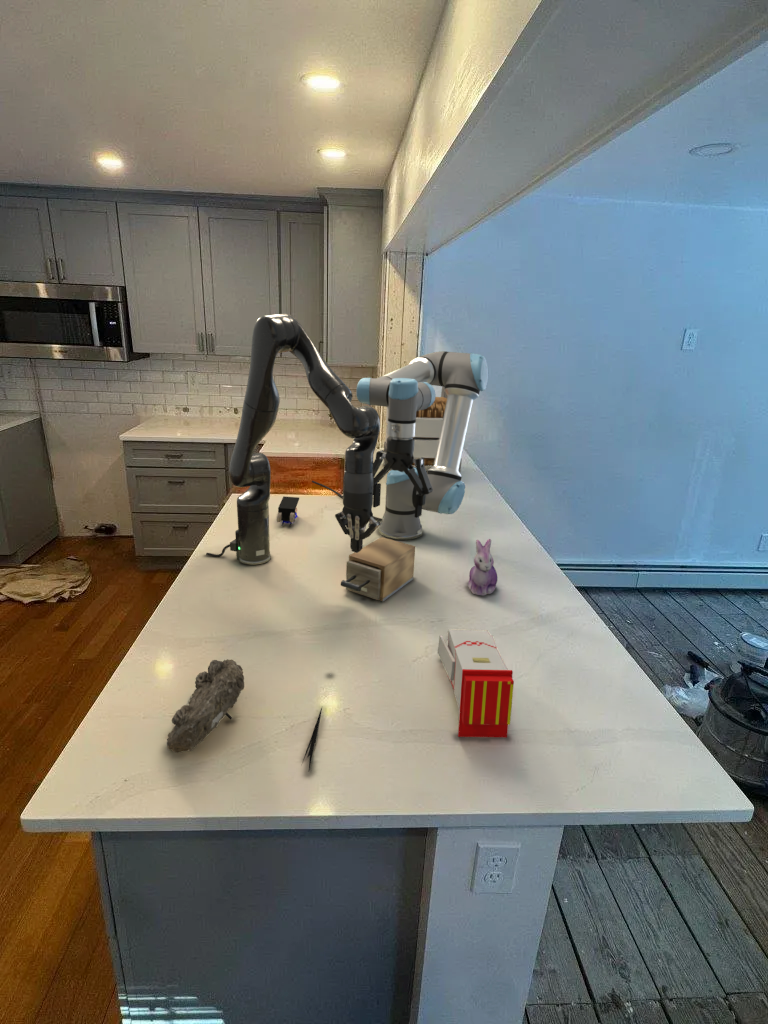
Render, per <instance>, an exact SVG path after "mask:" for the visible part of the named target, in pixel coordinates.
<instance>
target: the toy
mask: <svg viewBox="0 0 768 1024" xmlns="http://www.w3.org/2000/svg"><path fill="white" fill-rule="evenodd" d="M446 640H447V643H446V641H445V639H444V636H443V635H442V634H439V637H438V646H437V656H438V657H439V659H440V661H441V663H442V666H443V668H444V670H445V672H446V674H447V677H448V679H449V681H450V684H451V687H452V690H453V693H454V697H455V701H456V705H457V708H458V711H459V714H458V715H459V716H458V730H457V731H458V732H457V737H458V738H508V731H509V726H510V725H511V717H512V707H513V697H514V696H513V695H514V684H515V680H514V679H513V673H514V671H513V670H512V669H508V667H507V665H506V662H505V661H504V659H503V658H502V655H501V653H500V651H499V649H498V647H497V643H496V639H495V637H494V635H493V634H491V632H490V631H489V629H467V628H466V629H465V628H463V629H461V628H460V629H459V628H448V630H447V639H446Z"/></svg>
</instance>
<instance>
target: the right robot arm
mask: <svg viewBox="0 0 768 1024" xmlns="http://www.w3.org/2000/svg"><path fill="white" fill-rule="evenodd" d="M488 381H489V366H488V361H487V358H486V357H485V356H484V355H483V354H479V353H473V352H459V351H458V352H457V351H445V350H442V351H440V350H439V351H434V352H429V353H426V354H422V355H420V356H417V357H415V358H413V359H412V360H411V361H410V362H409V363H408V364H406V365H404V366H402V367H399V368H398V369H395V370H393V371H391V372H388V373H386V374H384V375H381V376H379V377H377V378H376V377H375V378H374V377H373V378H372V377H362V378H361V379H360V380H359V381H358V382H357V384H356V391H355V392H356V394H355V395H356V398H357V401H358V402H359V403H360V404H362V405H363V404H364V405H368V406H376V407H385V408H387V407H389V409H388V429H387V435H388V436H389V437H388V438H387V448H386V449H387V453H386V452H384V449H381V450H378V451H376V452H375V453H376V454H375V459H374V460H373V479H374V482H373V505H372V508H377V507H379V506H381V493H382V491H381V490H382V487H381V486H382V485H381V484H382V483H380V482H381V480H382V479H383V478H384V477H385V476H386V480H385V481H386V482H385V504H384V505H385V507H384V508H385V509H384V513H383V515H382V517H381V518H380V517H378V516H375V515H373V518H374V519H375V521H379V522H380V525H379V526H378V533H379V534H380V535H381V536H382V537H384V538H387V539H391V540H395V541H410V540H415V539H418V538H420V537H421V536H422V535H423V525H422V524H421V518H420V517H421V516H422V514H423V511H427V512H434V513H437V514H439V515H442V514H444V515H453V514H455V513H456V512H457V511H458V510H459V508H460V507H461V505H462V502H463V500H464V497H465V492H466V484H465V482H464V481H462V478H463V476H462V474H460V473H459V465H460V461H461V458H462V455H463V449H464V446H465V442H466V437H467V436H466V435H467V432H468V427H469V422H470V417H471V412H472V406H473V403H474V401H475V400H476V399H478V398H479V396H480V392H483V391H485V390H486V389H487V386H488ZM434 386H436V387H441V388H442V387H445V390H444V391H445V393H446V394H447V396H448V397H447V402H446V407H445V412H444V417H443V422H442V426H441V431H440V436H439V441H438V446H437V450H436V455H435V460H434V465H433V466H432V465H431V466H430V468H428V469H426V466H424V458H422V457H421V458H414V456H413V452H414V442H415V440H414V438H413V437H414V436H415V424H416V411H420V410H424V409H427V408H428V407H430V406H431V405H432V404H433V403H434V401H435V397H437V396H436V390H435V388H434ZM385 458H386V460H387V462H388V463H387V464H386V465H385V466H384V465H383V468H382V469H381V470H379V469H380V467H381V465H382V463H383V462H384V459H385ZM413 463H414V465H415V466H412V464H413ZM390 469H392V470H391V471H390ZM378 470H379V472H378ZM377 472H378V473H377ZM311 483H312V484H315V485H317V486H320V487H322V488H325V489H327V490H329V491H331V492H332V493H334V494H335V495H336V496H337V495H338V497H340V498H341V499H343V494H340V493H339V492H338V491H336V490H335V489H333V488H330V487H329V486H327V485H324V484H322V483H320V482H317V481H315V480H311Z"/></svg>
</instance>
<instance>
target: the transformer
mask: <svg viewBox="0 0 768 1024" xmlns="http://www.w3.org/2000/svg"><path fill="white" fill-rule="evenodd" d="M444 390H445V387H442V386H441V392H440V393H441V394H440V396H436V397H435V401H434V403H433V404H432V405H431V406H430V407H428V408H427V409H424V410H420V411H416V424H415V436H414V437H413V438H414V440H415V442H414V452H413V456H414V458H421V457H422V458H424V467H432V466H433V465H434V460H435V455H436V450H437V446H438V441H439V436H440V431H441V426H442V422H443V417H444V412H445V407H446V402H447V397H448V396H447V394H446V393H445V391H444ZM388 409H389V407H386V413H385V414H386V415H385V423H386V428H385V438H384V442H383V450H384V452H386V453H387V449H386V448H387V438H388V437H389V436H388V435H387V429H388ZM462 461H463V460H462V457H461V461H460V465H459V473H460V474H461V472H462ZM382 463H383V467H384V466H385V465H386V464H387V463H388V462H387V460H386V458H385V459H383V462H382ZM412 466H413V467H416V466H415V465H414V463H413V464H412ZM391 470H392V469H390V470H389V472H390V471H391ZM461 475H462V474H461Z"/></svg>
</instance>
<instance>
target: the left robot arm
mask: <svg viewBox="0 0 768 1024" xmlns="http://www.w3.org/2000/svg"><path fill="white" fill-rule="evenodd" d="M251 337H252V338H251V349H250V350H251V351H250V352H251V353H250V363H249V371H248V378H247V385H246V390H245V394H244V398H243V405H242V408H241V416H240V422H239V428H238V431H237V437H236V440H235V444H234V447H233V450H232V453H231V456H230V460H229V466H228V475H229V478H230V482H231V483H232V485H233V486H234V487H237V488H247V487H248V489H246V490H245V491H244V492H243V493H242V494H240V495H238V497H237V499H236V514H237V515H236V516H237V530H235V532H234V534H235V538H234V539H233V540H232V541H230V542H229V544H226V545H225V546H224V547H223V548H222V550H221V553H219V554H218V553H217V554H216V553H211V552H206V553H205V556H209V557H213V558H219V557H222V556H224V554H225V551H226V550H227V549H228V548H229V550H230V552H235V553H236V554H235V555H236V561H239V562H240V563H242V564H245V565H249V566H256V565H257V566H258V565H262V564H266V563H268V562H269V561H270V560H271V548H270V547H271V542H270V541H271V540H270V512H269V511H270V508H269V507H270V506H269V501H270V497H271V479H272V477H271V475H272V473H271V471H272V470H271V464H270V461H269V458H268V457H267V455H266V454H264V453H263V452H255V450H256V448H257V446H258V445H259V444H260V443H261V442H262V440H264V438H265V437H266V436H267V435H268V433H269V432H270V431H271V429H272V428H273V427H274V425H275V423H276V420H277V416H278V411H279V407H280V402H281V401H280V393H279V390H278V387H277V385H276V382H275V379H274V366H275V363H276V362H275V361H276V358H277V355H278V354H281V353H287V352H290V354H292V355H293V356H294V357H296V359H298V360H299V362H300V363H301V364H302V367H303V369H304V371H305V375H306V380H307V382H308V385H309V388H310V389H311V391H312V392H313V393H314V395H315V396H316V397H317V398H318V399H319V401H320V402H321V403H322V404H323V405H324V406H325V407H326V409H328V411H329V413H330V415H331V417H332V419H333V421H334V423H335V425H336V427H337V429H338V430H339V431H340V433H342V434H343V435H344V436H346V437H347V438H349V439H353V441H352V443H351V444H350V445H349V446H348V447H347V448H346V449H345V452H344V471H343V477H342V478H343V480H342V489H343V490H342V496H343V498H342V505H343V507H342V510H341V511H340V512H338V513H336V514H334V518H335V520H336V521H337V523H338V524H339V527H340V528H341V530H342V532H343V534H344V535H347V536H349V539H350V550H351V553H354V552H356V553H358V552H359V551H361V550H362V548H363V547H364V546H363V542H364V540H366V539H367V538H369V537H370V536H371V535H372V534H373V533H374V532H375V531H376V530H377V529H379V526H380V523H381V521H380V520H376V519H374V518H373V516H374V513H373V510H372V508H373V482H374V479H373V463H374V453H375V451H376V447H377V443H378V439H379V435H380V432H381V417H380V415H379V413H378V411H377V410H376V409H375V408H374V407H373V406H371V405H363V406H359V407H355V405H353V404H352V400H353V393H352V390H351V389H350V388H349V387H348V386H347V385H346V384H345V383H344V381H343V380H342V379H341V378H340V377H339V376H338V375H337V373H336V372H334V370H333V369H332V368H331V367H330V366H329V364H328V363H327V362H326V360H325V359H324V357H323V356H322V354H321V353H320V351H319V350H318V349H317V347H316V345H315V343H314V342H313V341H312V340H311V338H310V337H309V334H308V333H307V332H306V330H305V329H304V327H303V326H302V324H301V322H299V321H298V319H297V318H296V317H295V316H293V315H292V314H290V313H273V314H266V315H262V316H259V318H258V319H256V321H255V323H254V326H253V330H252V336H251ZM367 527H368V528H367Z"/></svg>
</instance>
